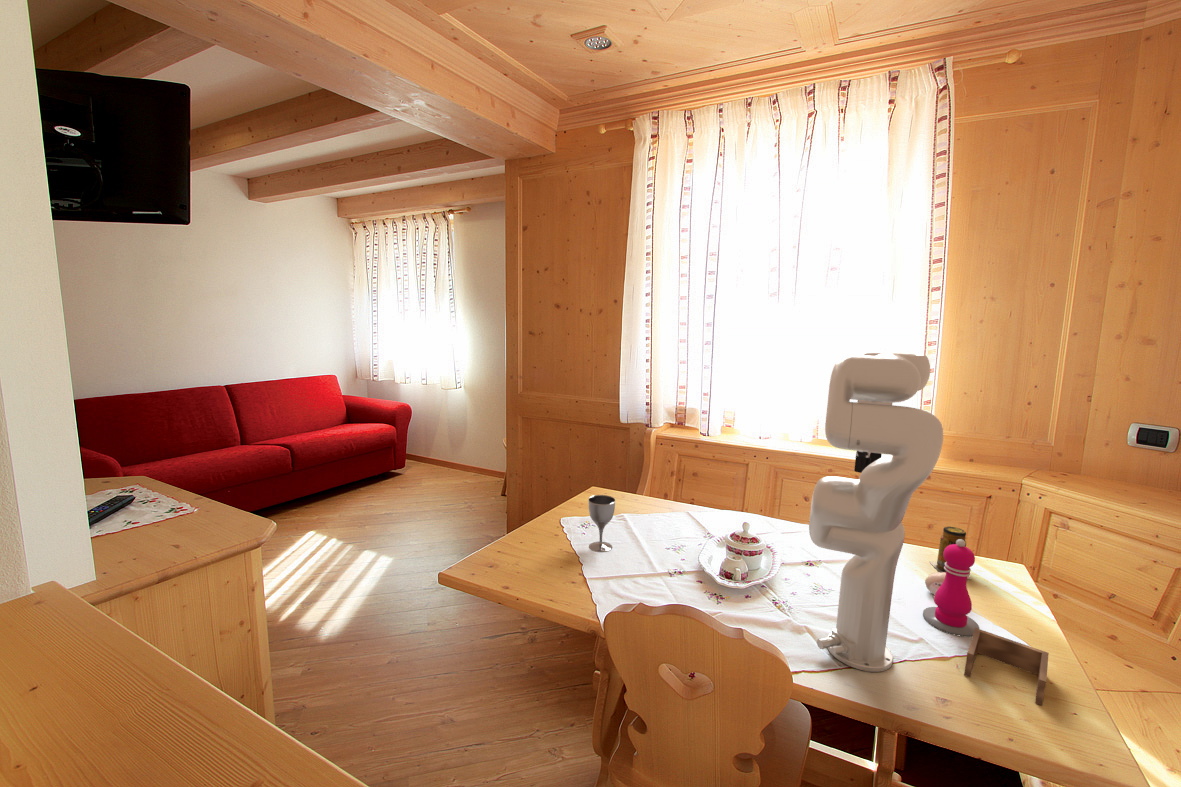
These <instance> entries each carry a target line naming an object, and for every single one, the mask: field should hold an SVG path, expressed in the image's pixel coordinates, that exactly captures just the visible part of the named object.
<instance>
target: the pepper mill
mask: <svg viewBox="0 0 1181 787" xmlns="http://www.w3.org/2000/svg"><path fill="white" fill-rule="evenodd" d="M965 541H966V540H965ZM965 541H964V540H962V539H958V540H957V541H956V544H952V545H949V546H947V547H946V548H945V549H944V552H943V556H944V559H945V560H946V562H945V567H944V569H945V570H946V576H945V580H944V582H943V583H942V585H941V586H940V587H939V589H938V590H937V592H936V594H935V595H934V598H933V599H934V600H933V601H934V603H935V605H936V606H935V607H936V609H935V617H936V618H937V619H938V620H939V621H940V622H942V623H944V624H946V625H949V626H953V627H965V626H966V625H967V619H968V618H967V616H968V614H970V613H972V612H971V611H972V607H973V606H972V605H973V604H972V600H971V596H970V594H969V592H968V585H967V583H968V582H967V581H968V579H967V577H968V576H969V577H970V576H971V571H972V570H971V567H972V566H973V565H975V562H976V557H975V554H974V552H973V551H972V550H971V548H969V547H968V546H966V547H965Z"/></svg>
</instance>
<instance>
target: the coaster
mask: <svg viewBox="0 0 1181 787" xmlns="http://www.w3.org/2000/svg"><path fill="white" fill-rule="evenodd" d="M936 607H937V606H929V607H926V608H925V609H923V612H922V617H923V619H924V621H925V622H926V623H928V624H929V625H930V624H931V625H930V626H932V627H933V626H934V628H935V629H937V630H939V629H940V630H939V631H941V630H942V631H941V632H944V633H946V632H948V633H947V634H949V633H950V635H953V634H955V635H954V636H957V635H960V636H959V637H964V636H971V637H973V633H974V630H975V628H978V629H980V626H979V623H978V622H976V621H975V620H974V619H973V618H971V617H970V616H968V615H966V616H967V618H968V619H967V625H966V626H965V627H953V626H949V625H946V624H944V623H942V622H940V621H939V620H938V619H937V618H936V617H935V609H936Z"/></svg>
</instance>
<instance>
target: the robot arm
mask: <svg viewBox="0 0 1181 787" xmlns="http://www.w3.org/2000/svg"><path fill="white" fill-rule="evenodd" d="M930 374H931V363H930V360H929V358H928V357H927V355H926V354H923V353H919V352H909V351H907V352H906V351H905V352H904V351H893V350H886V349H867V350H865V351H862V352H861V353H859V354H847V355H843V356H841V357H840V358H839V359H838V360H837V361H836V362H835V364H834V366H833V368H832V372H831V374H830V379H829V380H830V381H829V385H828V386H829V387H828V396H827V406H826V414H825V423H824V424H825V426H824V427H825V428H824V431H825V437H826V440H827V442H828V443H829V444H830V445H831V446H833V447H835V448H836V449H842V450H846V451H847V450H848V451H855V452H856V453H855V459H854V460H855V461H854V472H856V473H858V474H859V473H860V474H859V476H858V479H857V478H850V477H843V476H835V475H834V476H833V475H831V476H830V475H829V476H823V477H821V478H820V479H818V480H817V482H816V484H815V486H814V489H813V492H812V497H811V503H810V512H809V513H810V514H809V521H808V522H809V523H808V532H809V537H810V540H811V542H812V543H813V544H814V545H815V546H817V547H819V548H822V549H824V550H825V549H826V550H829V551H830V550H831V551H834V552H841V553H845V554H852V555H853V557H851V558H850V559H849V560H847V562H846V563H845V565H844V566H843V568H842V571H841V577H840V587H839V598H838V605H837V606H838V607H837V617H836V623H835V624H836V625H835V626H836V627H835V628H832V629H831V633H829V634H828V635H827V637H823V638H818V639H817V640H816V644H817V645H816V646H817V647H818V649H820V650H824V649H827V650H828V651H829V653H830V654H831V655H832V656H833V657H834V658H835V659H837V660H838V661H840V662H841V663H843V664H845V665H846V666H849V667H851V668H854V669H856V670H861V671H864V672H873V673H875V672H877V673H878V672H885V671H887V670H888V669H890V668H891V667H892V666H893V665H892V664H893V663H894V661H893V660H894V657H893V653H892V651H891V650H890V648H888V646H887V637H888V630H889V629H888V628H889V622H890V616H891V615H890V614H891V605H892V596H893V590H894V582H895V576H896V575H895V574H896V569H897V566H898V561H899V559H900V558H899V557H900V555H901V552H902V548H903V545H904V542H905V536H906V535H905V534H906V533H905V527H904V524H903V523H902V522H903V519H904V517H905V515H906V511H907V510H908V507H909V504H910V500H911V497H912V495H913V494H914V492H915V491H916V490H917V489H918V488H919V487H921V485H922V484H923V483H924V482H925V481H926V480H927V479H928V477H930V475H931V473H932V472H933V470H934V468H936V467H935V466H936V465H937V463H938V460H939V457H940V455H941V452H942V449H943V448H942V447H943V442H944V427H943V425H942V422H941V420H940V419H939V418H937V416H936V415H934V414H932V413H931V412H929V411H926V410H923V409H920V408H916V407H910V406H905V405H904V406H903V405H894V404H895V403H901V402H905V401H906V400H910V399H911V398H913V397H914V396H915V395H917V393H918V391H922V390H923V389H924V388H925V387H926V385H927V384H928V382H929V379H930V377H931V376H930ZM851 400H853V401H851ZM855 400H856V401H857V402H856V401H855ZM893 403H894V404H893ZM882 455H884V456H883V457H882Z"/></svg>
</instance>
